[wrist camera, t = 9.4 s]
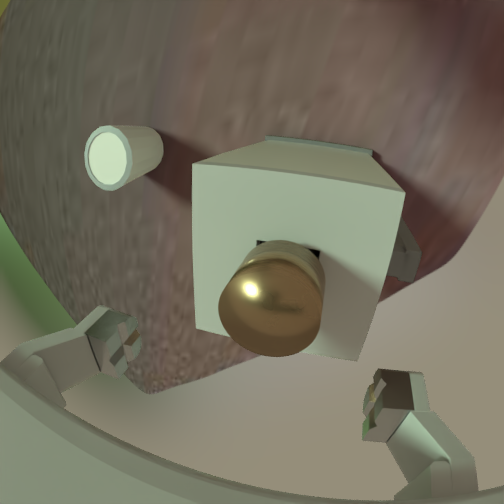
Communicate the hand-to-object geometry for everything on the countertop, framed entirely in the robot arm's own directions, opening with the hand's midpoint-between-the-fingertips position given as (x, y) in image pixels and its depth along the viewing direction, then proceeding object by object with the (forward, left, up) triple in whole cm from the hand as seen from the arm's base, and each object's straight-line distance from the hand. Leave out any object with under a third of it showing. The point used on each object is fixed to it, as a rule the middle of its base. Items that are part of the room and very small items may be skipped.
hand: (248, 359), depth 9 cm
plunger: (0, 0, -22) cm, 22 cm away
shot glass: (-20, +3, -24) cm, 31 cm away
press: (+1, 0, -24) cm, 24 cm away
